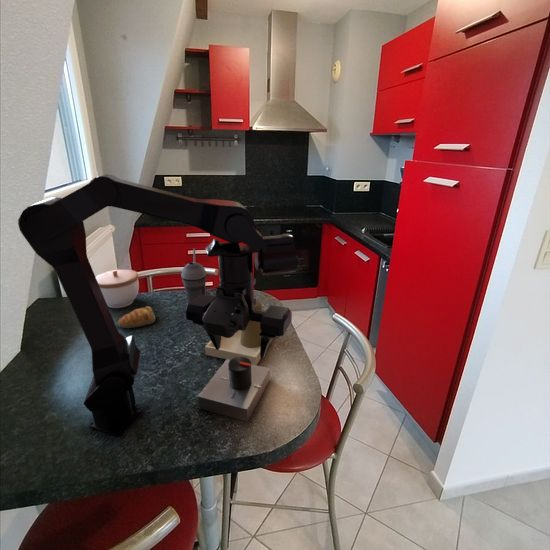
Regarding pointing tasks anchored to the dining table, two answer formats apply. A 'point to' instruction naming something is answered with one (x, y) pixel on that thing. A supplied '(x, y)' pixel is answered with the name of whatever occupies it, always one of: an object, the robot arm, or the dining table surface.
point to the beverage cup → (193, 279)
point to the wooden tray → (234, 349)
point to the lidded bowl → (119, 287)
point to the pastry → (137, 318)
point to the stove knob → (240, 373)
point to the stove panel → (233, 393)
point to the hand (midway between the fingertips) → (239, 353)
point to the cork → (252, 332)
